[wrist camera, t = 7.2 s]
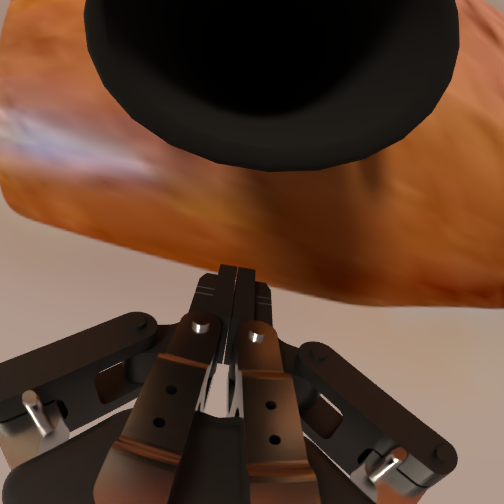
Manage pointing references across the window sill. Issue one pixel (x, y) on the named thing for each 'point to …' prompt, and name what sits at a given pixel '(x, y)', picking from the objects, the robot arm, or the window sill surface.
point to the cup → (275, 74)
